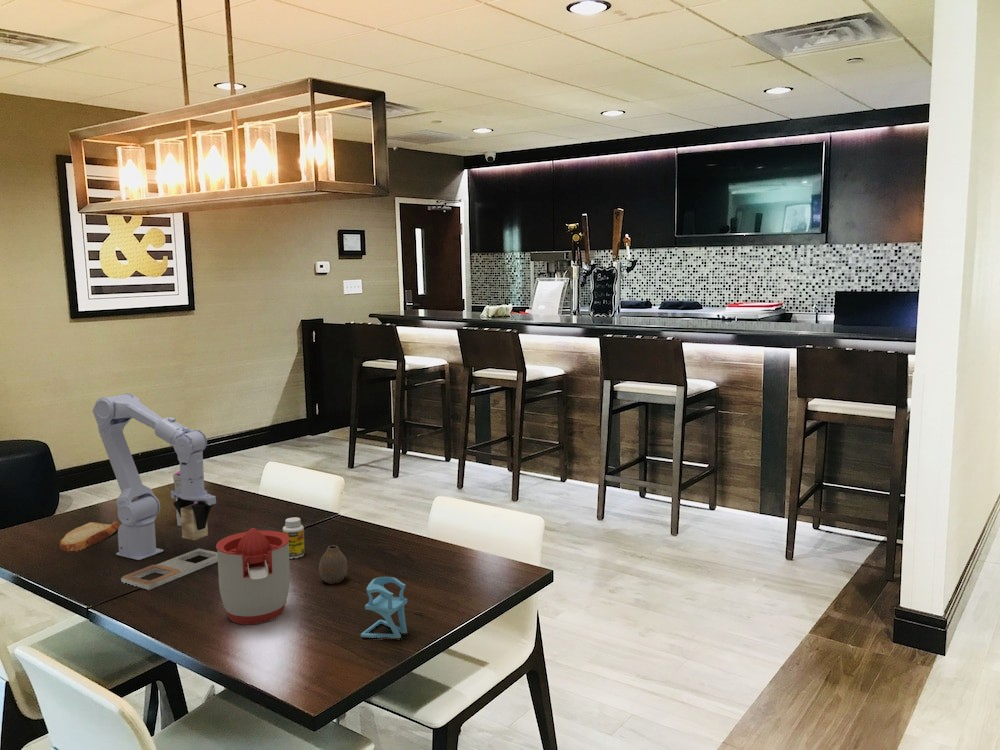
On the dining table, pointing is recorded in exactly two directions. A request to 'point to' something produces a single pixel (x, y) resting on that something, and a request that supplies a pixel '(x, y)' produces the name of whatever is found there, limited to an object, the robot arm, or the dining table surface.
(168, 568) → the rail
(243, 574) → the citrus juicer
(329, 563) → the vase
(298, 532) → the supplement bottle
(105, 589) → the dining table surface
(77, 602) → the dining table surface
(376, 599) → the chair
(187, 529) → the birch peg
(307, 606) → the dining table surface
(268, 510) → the dining table surface
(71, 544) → the bread slice
